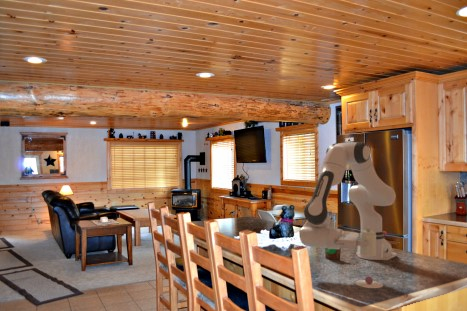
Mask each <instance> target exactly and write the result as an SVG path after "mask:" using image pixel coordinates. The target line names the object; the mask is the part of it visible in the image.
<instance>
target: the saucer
mask: <svg viewBox="0 0 467 311" xmlns="http://www.w3.org/2000/svg"><path fill="white" fill-rule="evenodd" d="M354 284H355V285H357V286H359V287H362V288H367V289H380V288H382V287H383V286H384V284H383V283H381V282H379V281H377V280H373V282H372V283H371V284H367V283H366V281H365V279H361V280H359V279H358V280H356V281H355V283H354Z"/></svg>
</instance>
